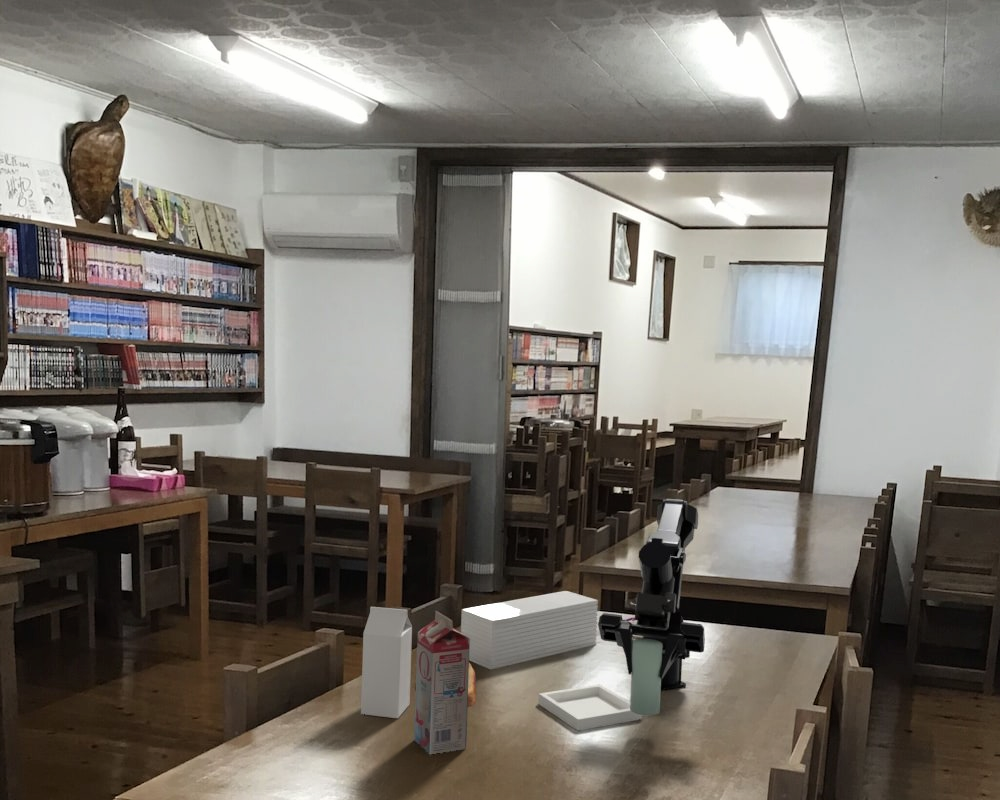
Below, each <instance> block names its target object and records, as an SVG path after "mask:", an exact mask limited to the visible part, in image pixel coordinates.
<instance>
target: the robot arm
mask: <svg viewBox="0 0 1000 800" xmlns="http://www.w3.org/2000/svg"><path fill="white" fill-rule="evenodd" d="M656 523H657V526H658V527H657V530H656V532H654V533H651V534H649V535H648V537H647V540H646V543H645V544H643V545H642V547H641V548H640V549H639V551H638V562H639V568H640V576H641V578H642V580H643V581H642V588H641V593H640V592H639V593H637V594H636V598H637V599H635V604H636V605H635V610H634V611H635V612H634V613H635V614H634V617H635V620H637V624H632V623H631V622H630V621H623V620H624V619H623V615H622V614H617V613H616V614H615V613H606V612H603V613H602V614H601V615H599V618H598V622H597V628H598V632H599V635H600V639H601V640H603V641H604V642H612V643H616V646H618V647H622V649H623V652H624V655H625V660H626V666H627V673H628V675H630V676H631V673H632V648H633V641H634V640H633V636H639V637H643V636H644V637H643V639H654V640H657V641H660V642H661V643H662V644H663V646H662V665H661V670H660V679H661V691H664V690H670V689H671V690H673V689H676V688H682V687H683V688H684V687H686V686H687V683H686V682H684V681H682V671H683V670H682V668H683V660H684V661H685V660H686V659H689V658H690V653H691V652H692V653H699V654H700V653H704V652H705V644H706V643H705V642H706V640H705V639H706V638H705V636H706V635H705V627H704V626H703V624H702V623H695V622H694V623H693V622H687V621H686V622H684V618H683V615H682V613H681V610H679V608H680V600H681V592H682V591H681V589H682V580H683V571H684V570H683V569H684V563H685V562H686V561H687V554H686V553H685V551H686V548H687V547H688V546H689V544H690V543H691V542H693V539H694V536H695V530H698V525H699V512H698V508H697V507H695V506H693V505H691V504H689V503H688V501H686V500H685V499H674V498H665V499H662V503H660V504H658V506H657V516H656Z"/></svg>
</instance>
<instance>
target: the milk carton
mask: <svg viewBox="0 0 1000 800" xmlns="http://www.w3.org/2000/svg"><path fill="white" fill-rule="evenodd" d="M369 610H370V611H369V615H368V618H367V621H366V624H365V628H364V630H363V635H362V636H363V637H362V639H363V640H362V643H363V644H362V665H361V666H362V670H361V674H362V675H361V698H360V699H361V705H360V715H364V714H365V715H364V716H374V717H380V718H381V717H383V718H389V719H390V718H391V719H399V718H400V716H401V715H402V714H403V713H404V711H405V710H406V709H407V708H408V707H409V705H410V700H411V698H410V697H411V676H412V675H411V671H412V670H411V669H412V668H411V666H412V665H411V664H412V643H413V642H412V639H413V636H412V635H413V625H412V623H411V621H410V619H409V616H408V609H402V608H401V609H399V608H389V607H380V606H379V607H378V606H377V607H376V606H370V609H369Z"/></svg>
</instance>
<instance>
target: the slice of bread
mask: <svg viewBox="0 0 1000 800" xmlns="http://www.w3.org/2000/svg"><path fill="white" fill-rule="evenodd" d="M476 699H477V677H476V672H475V669H474V668H473V666H472V664H471V663H470V662H469V677H468V707H467V708H469V706H470V707H473V706H474V705H475V702H476Z"/></svg>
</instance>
